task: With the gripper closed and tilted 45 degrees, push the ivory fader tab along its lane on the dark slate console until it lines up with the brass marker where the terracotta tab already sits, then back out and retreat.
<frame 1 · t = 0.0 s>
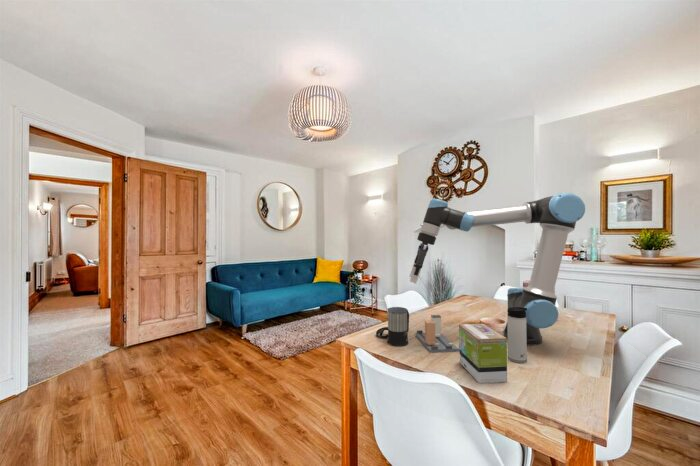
hand: (412, 279, 128), 28 cm above the table, tool tilted 20°, fingers open, 13 cm apart
cracker box: (538, 320, 161), on the table
travel mug: (517, 360, 111), on the table
fader console: (435, 343, 128), on the table
tea box: (481, 372, 101), on the table
ivory fader tab: (436, 325, 133), point 6 cm above the table, slide at -4.5 cm
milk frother: (391, 340, 132), on the table
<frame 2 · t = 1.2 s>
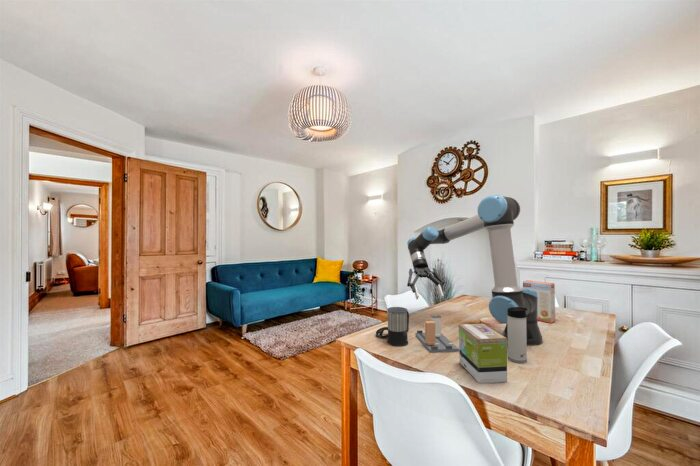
hand: (429, 297, 140), 17 cm above the table, tool tilted 45°, fingers open, 11 cm apart
nothing on the table moved.
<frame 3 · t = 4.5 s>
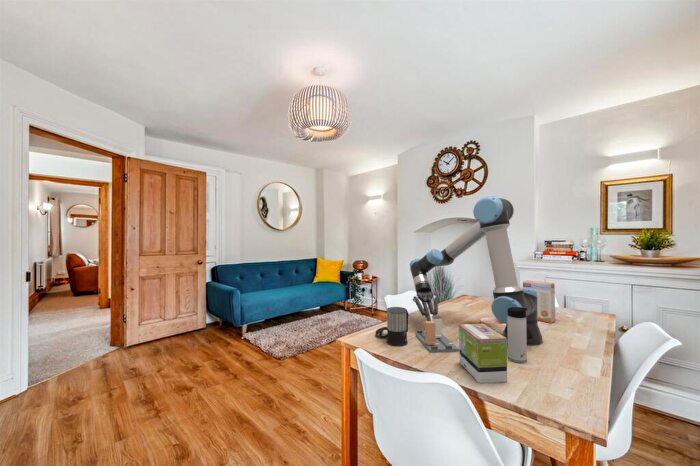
hand: (434, 328, 134), 5 cm above the table, tool tilted 45°, fingers closed
ivory fader tab: (437, 326, 132), point 6 cm above the table, slide at -3.2 cm, touching gripper
everything else where it was.
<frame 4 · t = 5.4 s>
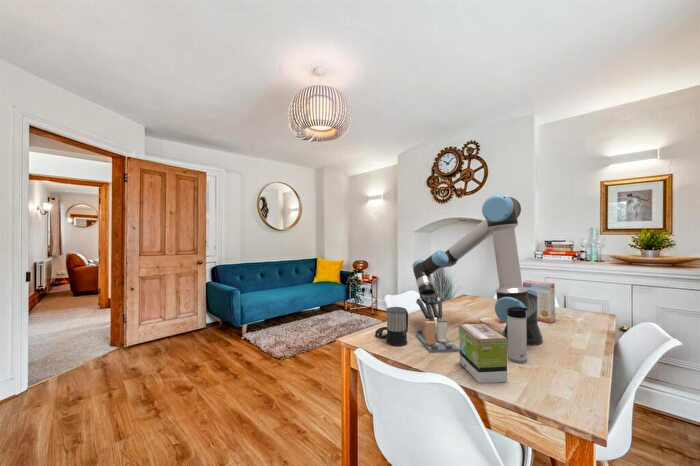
hand: (438, 332, 129), 5 cm above the table, tool tilted 45°, fingers closed
ivory fader tab: (441, 330, 126), point 6 cm above the table, slide at 2.0 cm, touching gripper
everything else where it was.
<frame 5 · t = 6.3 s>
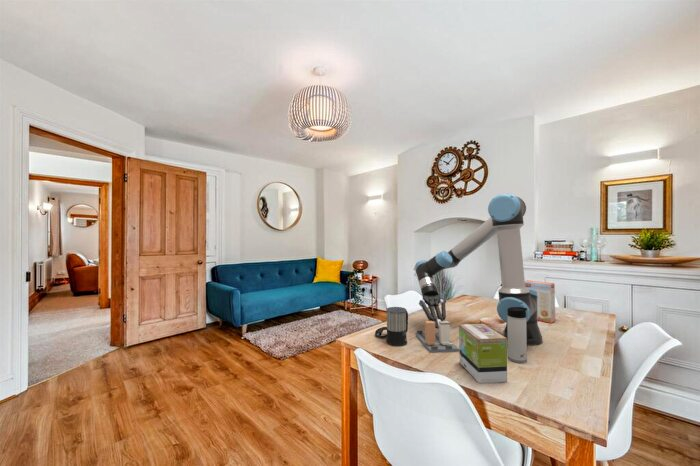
hand: (442, 334, 126), 5 cm above the table, tool tilted 45°, fingers closed
ivory fader tab: (444, 332, 123), point 6 cm above the table, slide at 5.2 cm, touching gripper
everything else where it was.
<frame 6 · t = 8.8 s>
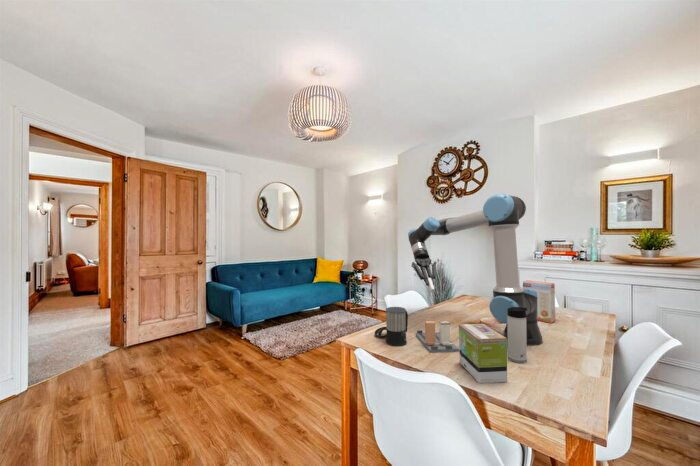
hand: (432, 290, 137), 21 cm above the table, tool tilted 45°, fingers closed
ivory fader tab: (444, 333, 123), point 6 cm above the table, slide at 5.4 cm
everything else where it was.
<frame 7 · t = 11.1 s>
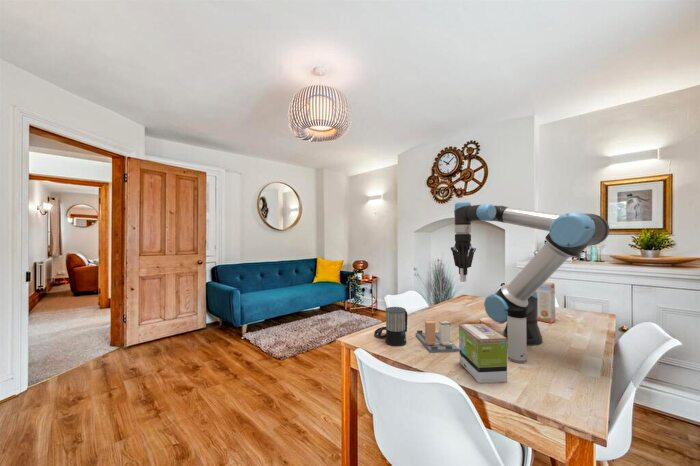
hand: (463, 281, 144), 24 cm above the table, tool pointing down, fingers closed
nothing on the table moved.
at the end: ivory fader tab slide at 5.4 cm; the gripper is holding nothing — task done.
